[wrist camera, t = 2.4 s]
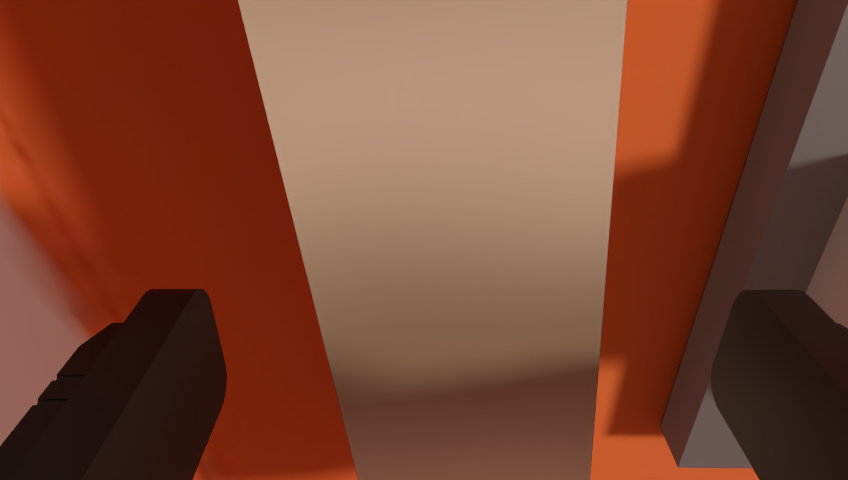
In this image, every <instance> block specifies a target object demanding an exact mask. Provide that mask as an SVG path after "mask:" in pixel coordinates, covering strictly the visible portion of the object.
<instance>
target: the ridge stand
mask: <svg viewBox="0 0 848 480" xmlns="http://www.w3.org/2000/svg"><path fill="white" fill-rule="evenodd" d="M743 290H801V291H803V292H805V293H806V294H807V295H809V296H810V297H811V298H812V299H813V300H814V301H815V302H816V303H817V304H818V305H819V306H820V307H821V308H822V309H823V310H824V311H825V312H826V313H827V314H828V315H829V316H830V317H831V318H832V319H833V320H834V321H835V322H836V323H839V324H841V325H843V326H844V327H846V328H848V0H798V2H797V5H796V8H795V11H794V14H793V17H792V20H791V23H790V26H789V30H788V33H787V36H786V39H785V42H784V45H783V48H782V51H781V54H780V57H779V60H778V64H777V67H776V70H775V73H774V76H773V79H772V82H771V85H770V88H769V91H768V95H767V98H766V101H765V104H764V107H763V110H762V113H761V116H760V119H759V122H758V126H757V129H756V132H755V135H754V138H753V141H752V144H751V147H750V150H749V153H748V157H747V160H746V163H745V166H744V169H743V172H742V175H741V178H740V181H739V184H738V187H737V191H736V194H735V197H734V200H733V203H732V206H731V209H730V212H729V215H728V218H727V222H726V225H725V228H724V231H723V234H722V237H721V240H720V243H719V246H718V249H717V253H716V256H715V259H714V262H713V265H712V268H711V271H710V274H709V277H708V280H707V284H706V287H705V290H704V293H703V296H702V299H701V302H700V305H699V308H698V311H697V314H696V318H695V321H694V324H693V327H692V330H691V333H690V336H689V339H688V342H687V345H686V349H685V352H684V355H683V358H682V361H681V364H680V367H679V370H678V373H677V376H676V380H675V383H674V386H673V389H672V392H671V395H670V398H669V401H668V404H667V407H666V411H665V414H664V417H663V420H662V423H661V426H660V427H661V430H662V432H663V434H664V437H665V439H666V441H667V443H668V446H669V448H670V450H671V452H672V455H673V457H674V459H675V462H676V464H677V466H678V467H687V468H752V466H751V464H750V462H749V461H748V459H747V457H746V456H745V454H744V452H743V451H742V449H741V447H740V445H739V444H738V442H737V440H736V439H735V437H734V435H733V434H732V432H731V430H730V428H729V427H728V425H727V423H726V422H725V420H724V418H723V417H722V415H721V413H720V411H719V410H718V408H717V406H716V403H715V401H714V398H713V394H712V389H711V369H712V365H713V362H714V359H715V356H716V353H717V350H718V347H719V344H720V341H721V338H722V335H723V332H724V329H725V326H726V323H727V320H728V317H729V314H730V311H731V308H732V305H733V302H734V300H735V298H736V297H737V295H738V294H739V293H740V292H741V291H743Z"/></svg>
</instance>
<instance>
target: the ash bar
mask: <svg viewBox="0 0 848 480" xmlns="http://www.w3.org/2000/svg"><path fill="white" fill-rule="evenodd" d="M238 3H239V7H240V11H241V15H242V19H243V23H244V27H245V31H246V35H247V39H248V43H249V47H250V51H251V55H252V59H253V63H254V67H255V71H256V75H257V79H258V83H259V87H260V91H261V95H262V99H263V103H264V107H265V111H266V115H267V119H268V123H269V126H270V130H271V134H272V138H273V142H274V146H275V150H276V154H277V158H278V162H279V166H280V170H281V174H282V178H283V182H284V186H285V190H286V194H287V198H288V202H289V206H290V210H291V214H292V218H293V222H294V226H295V230H296V234H297V238H298V242H299V246H300V250H301V254H302V258H303V262H304V266H305V270H306V274H307V278H308V282H309V286H310V290H311V294H312V298H313V302H314V306H315V310H316V314H317V318H318V322H319V326H320V330H321V334H322V338H323V342H324V346H325V350H326V354H327V358H328V362H329V366H330V370H331V374H332V378H333V382H334V386H335V390H336V394H337V398H338V402H339V406H340V410H341V414H342V418H343V422H344V426H345V429H346V433H347V437H348V441H349V445H350V449H351V453H352V457H353V461H354V465H355V469H356V473H357V477H358V480H590V474H591V461H592V448H593V436H594V423H595V410H596V397H597V384H598V371H599V358H600V345H601V332H602V319H603V306H604V293H605V281H606V268H607V255H608V242H609V229H610V216H611V203H612V190H613V177H614V164H615V151H616V138H617V126H618V113H619V100H620V87H621V74H622V61H623V48H624V35H625V22H626V9H627V0H238Z"/></svg>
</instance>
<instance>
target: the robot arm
mask: <svg viewBox="0 0 848 480" xmlns="http://www.w3.org/2000/svg"><path fill="white" fill-rule="evenodd" d="M226 380H227V375H226V365H225V361H224V356H223V352H222V348H221V344H220V340H219V335H218V331H217V327H216V323H215V318H214V314H213V310H212V306H211V302H210V298H209V296H208V294H207V293H206V291H205V290H203V289H151V290H149V291H147V292H146V293H145V294H144V295H143V297H142V298H141V299H140V301H139V302H138V304H137V305H136V306H135V308H134V309H133V310H132V312H131V313H130V315H129V316H128V317H127V319H126V320H125V321H124V323H111V324H110V325H108V326H107V327H106V328H104V329H103V330H101V331H100V332H99V333H97V334H96V335H95V336H93V337H92V338H90V339H89V340H88V341H86V342H85V343H83V344H82V345H81V346H79V347H78V349H77V350H76V351H75V352H74V354H73V355H72V356H71V357H70V359H69V360H68V361H67V363H66V364H65V365H64V366H63V368H62V369H61V370H60V371H59V373H58V374H57V380H56V381H52V382H51V383H50V384H49V385H48V387H47V388H46V389H45V390H44V392H43V393H42V394H41V395H40V397H39V398H38V404H37V405H33V406H32V407H31V408H30V409H29V411H28V412H27V413H26V415H25V416H24V417H23V418H22V419H21V421H20V422H19V424H18V425H17V426H16V427H15V428H14V430H13V431H12V432H11V434H10V435H9V436H8V437H7V438H6V440H5V441H4V442H3V444H2V445H1V446H0V480H192V479H193V477H194V474H195V472H196V469H197V467H198V464H199V462H200V460H201V457H202V455H203V452H204V450H205V447H206V445H207V442H208V440H209V437H210V435H211V433H212V430H213V428H214V425H215V423H216V420H217V418H218V415H219V413H220V410H221V408H222V405H223V402H224V397H225V392H226ZM711 389H712V394H713V398H714V401H715V403H716V406H717V408H718V410H719V411H720V413H721V415H722V417H723V418H724V420H725V422H726V423H727V425H728V427H729V428H730V430H731V432H732V434H733V435H734V437H735V439H736V440H737V442H738V444H739V445H740V447H741V449H742V451H743V452H744V454H745V456H746V457H747V459H748V461H749V462H750V464H751V466H752V468H753V469H754V471H755V473H756V474H757V476H758V478H759V479H760V480H848V328H846V327H844V326H843V325H841V324H839V323H836V322H835V321H834V320H833V319H832V318H831V317H830V316H829V315H828V314H827V313H826V312H825V311H824V310H823V309H822V308H821V307H820V306H819V305H818V304H817V303H816V302H815V301H814V300H813V299H812V298H811V297H810V296H809V295H807V294H806V293H805V292H803V291H801V290H743V291H741V292H740V293H739V294H738V295H737V297H736V298H735V300H734V302H733V305H732V308H731V311H730V314H729V317H728V320H727V323H726V326H725V329H724V332H723V335H722V338H721V341H720V344H719V347H718V350H717V353H716V356H715V359H714V362H713V365H712V369H711Z"/></svg>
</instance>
